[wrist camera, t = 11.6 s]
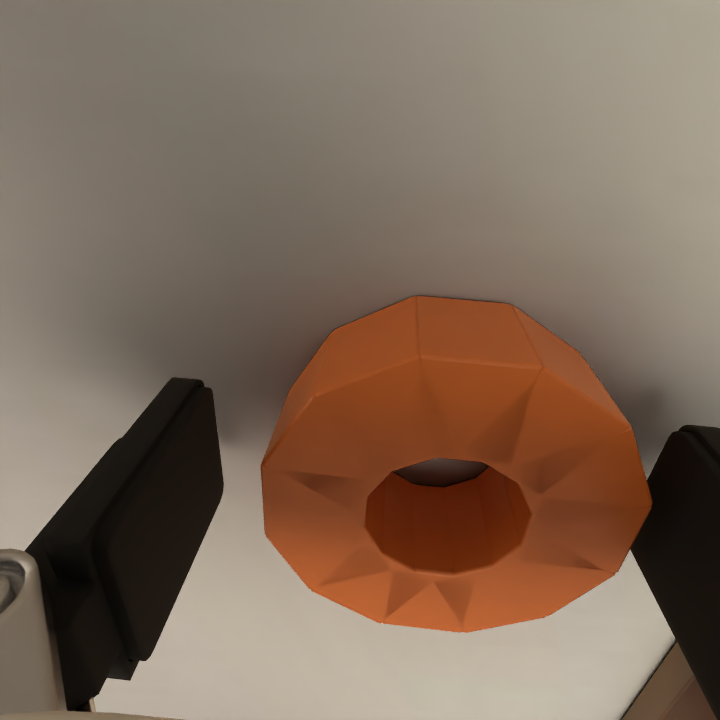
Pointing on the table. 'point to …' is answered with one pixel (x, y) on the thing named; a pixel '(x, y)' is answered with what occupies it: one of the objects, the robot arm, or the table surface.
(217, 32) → the table surface
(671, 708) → the rack
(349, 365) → the orange disc
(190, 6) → the table surface
